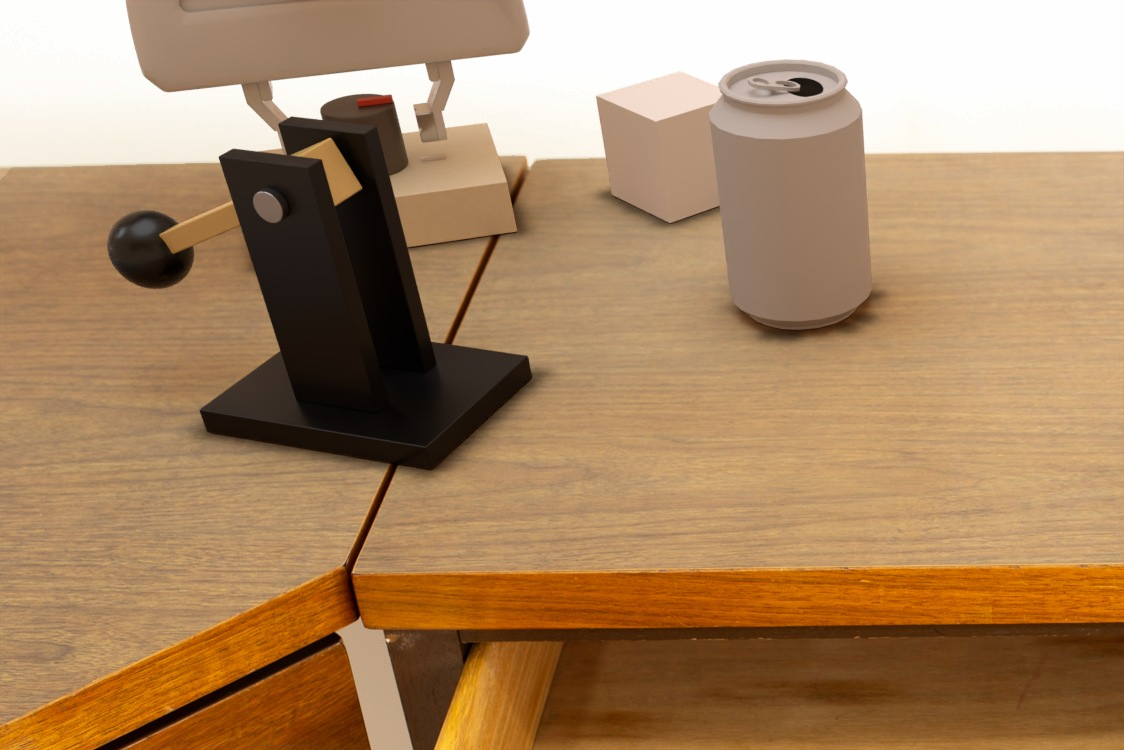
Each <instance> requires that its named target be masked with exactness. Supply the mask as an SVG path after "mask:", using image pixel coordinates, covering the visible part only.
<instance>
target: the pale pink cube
mask: <svg viewBox="0 0 1124 750" xmlns="http://www.w3.org/2000/svg"><path fill="white" fill-rule="evenodd" d="M721 95H722V93H721V92H720V89H719V85H716V84H713V83H711V82H709V81H708V82H707V81H705V80H704V79H700V78H698V77H696V76H693V75H690V74H688V73H686V72H683V71H681V70H679V71H676V72H672V73H669V74H666V75H665V74H664V75H662V76H659V77H655V78H652V79H649V80H645V81H641V82H638V83H635V84H631V85H628V86H624V87H620V88H617V89H614V90H610V91H607V92H602V93H600V94H596V95H595V99H596V107H597V111H598V118H599V124H600V130H601V137H602V144H603V148H604V155H605V161H606V167H607V173H608V174H607V175H608V179H609V185H610V191H611V195H612V196H613V197H616V198H618V199H619V200H622V201H624V202H625V203H628V204H630V205H632V206H634V207H635V208H638V209H640V210H642V211H644V212H646V213H648V214H650V215H653V216H654V217H656V218H659V219H661V220H662V221H664V222H666V223H669V224H671V223H676V222H678V221H681V220H683V219H686V218H688V217H691V216H695V215H697V214H701V213H704V212H707V211H708V210H712V209H714V208H718V207H720V204H719V196H718V187H717V179H716V170H715V162H714V153H713V145H712V136H711V128H710V119H709V112H710V111H711V109H712V108H713V106H714V105H715V103H716V102H717V101H718V99H719V98H720V97H721Z"/></svg>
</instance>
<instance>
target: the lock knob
mask: <svg viewBox="0 0 1124 750" xmlns="http://www.w3.org/2000/svg"><path fill="white" fill-rule="evenodd" d="M319 109H320V110H319V113H320V116H321V117H320V118H321V120H327V121H336V122H345V123H353V124H362V125H371V126H377V128H378V132H379V136H380V140H381V144H382V148H383V152H384V156H385V160H386V164H387V168H388V172H389V175H390V174H393V173H396V172H398V171H400V170H402V169H403V168H405V167H406V166H407V164H408V157H407V153H406V149H405V145H404V140H403V136H402V133H403V131H402V128H401V124H400V121H399V116H398V111H397V108H396V103H395V101H394V99H393V95H392V94H377V93H356V94H350V95H345V96H341V97H337V98H333V99H331V100H329V101H327V102H326V103H324V104H323V105H321V106H320V108H319Z"/></svg>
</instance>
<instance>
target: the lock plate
mask: <svg viewBox="0 0 1124 750" xmlns="http://www.w3.org/2000/svg"><path fill="white" fill-rule="evenodd" d="M445 128H446V133H447V138H448V140H442V141H435V142H426V143H422V141H421V137H420V132H419V130H417V131H410V132H402V136H403V140H404V145H405V149H406V153H407V157H408V164H407V166H406V167H405V168H403V169H402V170H400V171H398V172H396V173H393V174H390V175H389V176H390V180H391V184H392V188H393V192H394V196H395V200H396V204H397V208H398V212H399V216H400V220H401V224H402V228H403V232H404V235H405V239H406V243H407V247H408V248H412V247H419V246H426V245H433V244H440V243H448V242H454V241H461V240H467V239H469V240H470V239H474V238H482V237H488V236H496V235H502V234H503V235H504V234H508V233H509V234H510V233H515V232H518V227H517V224H516V218H515V214H514V209H513V204H512V203H513V202H512V199H511V194H510V190H509V189H510V188H509V184H508V181H507V177H506V174H505V172H504V169H503V166H502V162H501V160H500V155H499V154H498V151H497V148H496V145H495V142H494V138H493V136H492V133H491V130H490V126H489V124H488V122H482V123H474V124H466V125H459V126H450V127H445ZM257 151H258V152H266V153H275V154H283V155H284V153H283V149H282V147H281V148H274V149H265V150H257Z"/></svg>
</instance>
